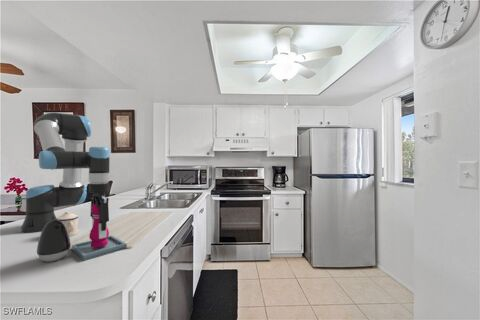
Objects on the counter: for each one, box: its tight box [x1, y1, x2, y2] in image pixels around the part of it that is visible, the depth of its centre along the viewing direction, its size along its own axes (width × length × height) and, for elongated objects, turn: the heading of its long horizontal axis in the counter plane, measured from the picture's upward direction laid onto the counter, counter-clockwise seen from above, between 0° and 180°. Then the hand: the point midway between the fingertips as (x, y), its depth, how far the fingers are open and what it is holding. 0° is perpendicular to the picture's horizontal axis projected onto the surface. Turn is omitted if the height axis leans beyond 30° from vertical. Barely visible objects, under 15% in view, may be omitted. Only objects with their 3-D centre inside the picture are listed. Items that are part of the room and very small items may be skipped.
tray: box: [71, 234, 128, 262], centre depth 97 cm, size 16×16×2 cm
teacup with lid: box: [56, 211, 79, 237], centre depth 114 cm, size 12×9×12 cm
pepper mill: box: [89, 203, 110, 248], centre depth 97 cm, size 7×7×20 cm
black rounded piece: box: [36, 220, 72, 262], centre depth 88 cm, size 10×10×15 cm
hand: (99, 235), depth 97 cm, fingers closed on pepper mill, 7 cm apart
